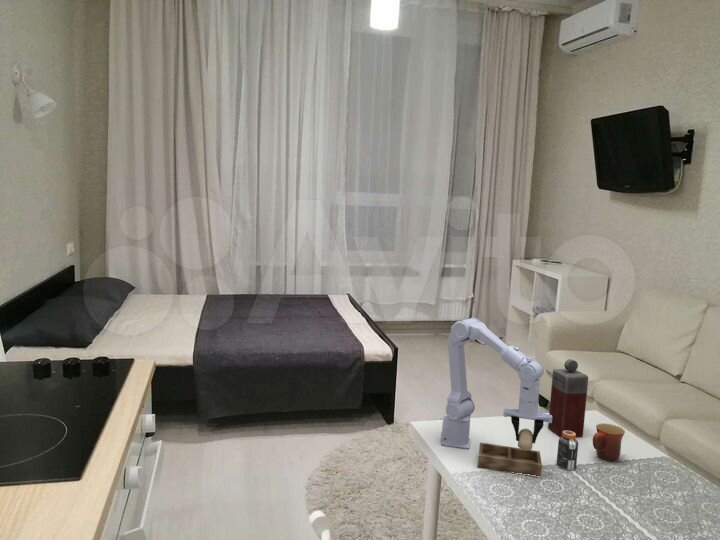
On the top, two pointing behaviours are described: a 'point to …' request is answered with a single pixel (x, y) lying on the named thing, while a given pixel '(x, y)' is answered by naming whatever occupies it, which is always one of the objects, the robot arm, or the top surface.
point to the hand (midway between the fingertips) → (525, 440)
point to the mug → (608, 441)
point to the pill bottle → (567, 450)
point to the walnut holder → (509, 459)
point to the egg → (525, 439)
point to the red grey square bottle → (568, 399)
